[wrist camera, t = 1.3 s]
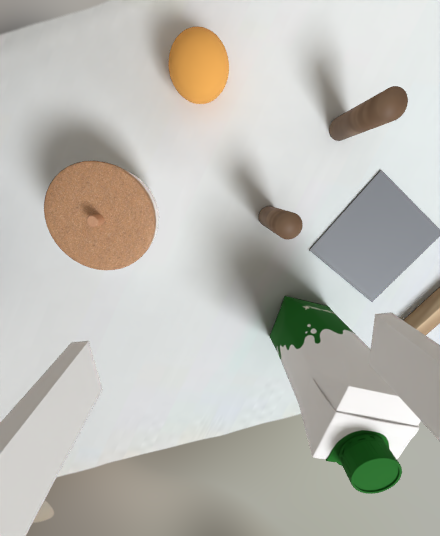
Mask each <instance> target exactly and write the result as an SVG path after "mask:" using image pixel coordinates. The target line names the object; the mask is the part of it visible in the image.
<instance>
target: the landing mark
mask: <svg viewBox="0 0 440 536" xmlns="http://www.w3.org/2000/svg"><path fill="white" fill-rule="evenodd" d="M439 236H440V229H439V228H438V227H437V226H436V225H435V224H434V223H433V222H432V221H431V220H430V219H429V218H428V217H427V216H426V215H425V214H424V213H423V212H422V211H421V210H420V209H419V208H418V207H417V206H416V205H415V204H414V203H413V202H412V201H411V200H410V199H409V198H408V197H407V196H406V195H405V194H404V193H403V192H402V191H401V190H400V189H399V188H398V187H397V185H396V184H395V183H394V182H393V181H392V180H391V179H390V178H389V177H388V176H387V175H386V174H385V173H384V172H383V171H382V170H380V171H379V172H378V174H377V175H376V176H375V177H374V178H373V179H372V180H371V181H370V182H369V184H368V185H367V186H366V187H365V188H364V189H363V190H362V191H361V193H360V194H359V195H358V196H357V197H356V198H355V199H354V200H353V201H352V203H351V204H350V205H349V206H348V207H347V208H346V209H345V210H344V212H343V213H342V214H341V215H340V216H339V217H338V218H337V219H336V221H335V222H334V223H333V224H332V225H331V226H330V227H329V228H328V229H327V231H326V232H325V233H324V234H323V235H322V236H321V237H320V238H319V240H318V241H317V242H316V243H315V244H314V245H313V246H312V247H311V248H310V251H311V252H312V253H314V254H315V255H316V256H317V257H318V258H320V259H321V260H322V261H323V262H324V263H326V264H327V265H328V266H329V267H330V268H332V269H333V270H334V271H335V272H336V273H338V274H339V275H340V276H341V277H343V278H344V279H345V280H346V281H347V282H349V283H350V284H351V285H352V286H353V287H355V288H356V289H357V290H358V291H359V292H361V293H362V294H363V295H364V296H365V297H367V298H368V299H369V300H370V301H371V302H373V301H374V300H375V299H376V298H377V297H378V296H379V295H380V294H381V293H382V292H383V291H384V290H385V289H386V288H387V287H388V286H389V285H390V284H391V283H392V282H393V281H394V280H395V279H396V278H397V277H398V276H399V275H400V274H401V273H402V272H403V271H404V270H406V269H407V268H408V267H409V266H410V265H411V264H412V263H413V262H414V261H415V260H416V259H417V258H418V257H419V256H420V255H421V254H422V253H423V252H424V251H425V250H426V249H427V248H428V247H429V246H430V245H431V244H432V243H433V242H434V241H435V240H436V239H437V238H438V237H439Z"/></svg>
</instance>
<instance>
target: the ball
mask: <svg viewBox="0 0 440 536" xmlns="http://www.w3.org/2000/svg"><path fill="white" fill-rule="evenodd" d="M169 72H170V77H171V80H172V82H173V85H174V86H175V88H176V90H177V91H178V92H179V94H180V95H181V96H182V97H184V98H185V99H186V100H188V101H190V102H192V103H196V104H205V103H208V102H211V101H213V100H214V99H215V98H217V97H218V96H219V95H220V93H221V92H222V91H223V89H224V87H225V85H226V82H227V79H228V74H229V61H228V56H227V52H226V50H225V47H224V45H223V43H222V42H221V40H220V39H219V38H218V36H217V35H216V34H214V33H213V32H212V31H210V30H209V29H206V28H203V27H191V28H188V29H186V30H184V31H183V32H182V33H180V34H179V35H178V36H177V38H176V39H175V41H174V43H173V45H172V47H171V50H170V54H169Z"/></svg>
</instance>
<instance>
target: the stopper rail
mask: <svg viewBox="0 0 440 536" xmlns="http://www.w3.org/2000/svg"><path fill="white" fill-rule="evenodd" d="M403 321H405V322H406V323H408V324H409V325H411V326H412V327H414V328H415V329H416V330H418V331H419V332H421V333H422V334H424V335H425V336H426V335H427V334H428V333H429V332H430V331H431V330H432V329H434V328H435V327H436V326H437V325H438V324H439V323H440V287H439V288H438V289H437V290H436V291H435V292H434V293H433V294H432V295H430V296H429V297H428V298H427V299H426V300H425V301H424V302H423V303H422V304H421V305H420V306H418V307H417V308H416V309H415V310H414V311H413V312H412V313H411V314H410V315H409V316H408V317H407V318H405V319H404V320H403Z"/></svg>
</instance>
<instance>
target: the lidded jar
mask: <svg viewBox="0 0 440 536" xmlns="http://www.w3.org/2000/svg"><path fill="white" fill-rule="evenodd" d="M44 213H45V220H46V224H47V227H48V229H49V232H50V234H51V236H52V237H53V239H54V241H55V242H56V244H57V245H58V246H59V247H60V249H61V250H62V251H63V252H64V253H66V254H67V255H68V256H69V257H70V258H72V259H73V260H75V261H76V262H78V263H80V264H82V265H85V266H87V267H90V268H94V269H99V270H115V269H120V268H123V267H126V266H129V265H130V264H132V263H134V262H136V261H137V260H138V259H139V258H140V257H142V256H143V254H144V253H145V252H146V251H147V250H148V248H149V246H150V245H151V244H152V242H153V240H154V239H155V236H156V233H157V231H158V226H159V210H158V206H157V203H156V200H155V198H154V196H153V194H152V193H151V191H150V189H149V188H148V187H147V186H146V185H145V183H144V182H142V181H141V180H140V179H139V178H138V177H136V176H135V175H133V174H132V173H130V172H128V171H126V170H124V169H122V168H120V167H118V166H116V165H113V164H109V163H106V162H100V161H83V162H79V163H75V164H73V165H70V166H68V167H66V168H65V169H63V170H62V171H61V172H60V173H59V174H58V175H57V176H56V177H55V178H54V179H53V181H52V182H51V183H50V185H49V188H48V190H47V192H46V197H45V202H44Z"/></svg>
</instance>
